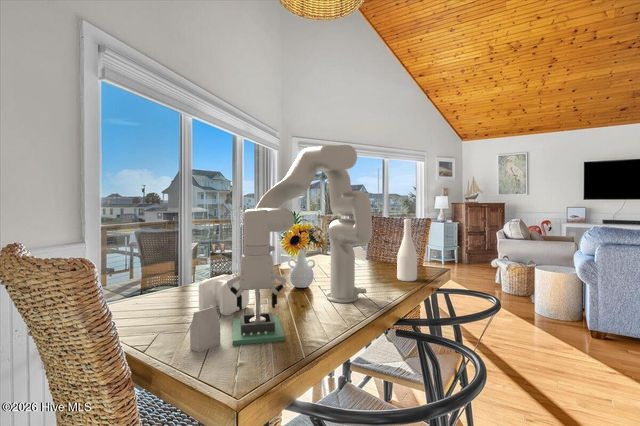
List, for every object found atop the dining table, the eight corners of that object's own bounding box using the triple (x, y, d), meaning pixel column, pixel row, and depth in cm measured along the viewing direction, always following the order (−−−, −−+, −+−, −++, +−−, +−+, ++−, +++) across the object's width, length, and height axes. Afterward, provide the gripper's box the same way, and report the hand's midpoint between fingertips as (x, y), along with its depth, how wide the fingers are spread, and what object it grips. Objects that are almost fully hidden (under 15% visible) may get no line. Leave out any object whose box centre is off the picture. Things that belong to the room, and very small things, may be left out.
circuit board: (277, 319, 115) (277, 307, 115) (284, 340, 97) (284, 327, 97) (233, 322, 111) (233, 310, 111) (232, 345, 94) (232, 331, 94)
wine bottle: (397, 281, 169) (398, 219, 168) (396, 277, 178) (397, 218, 177) (417, 282, 167) (418, 219, 166) (415, 277, 177) (416, 218, 176)
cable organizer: (221, 319, 114) (221, 284, 114) (197, 314, 119) (197, 280, 118) (249, 306, 128) (249, 275, 127) (226, 303, 132) (226, 272, 132)
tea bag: (220, 343, 95) (220, 307, 95) (199, 352, 90) (198, 314, 89) (211, 340, 97) (211, 305, 97) (190, 349, 92) (189, 311, 91)
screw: (246, 327, 104) (258, 322, 108) (256, 330, 101) (269, 326, 105) (245, 283, 104) (258, 280, 107) (256, 286, 101) (268, 283, 104)
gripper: (284, 248, 109) (284, 302, 110) (226, 249, 105) (227, 306, 106) (287, 251, 102) (287, 309, 103) (226, 253, 98) (226, 314, 98)
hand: (257, 307), depth 104 cm, fingers open, 9 cm apart
